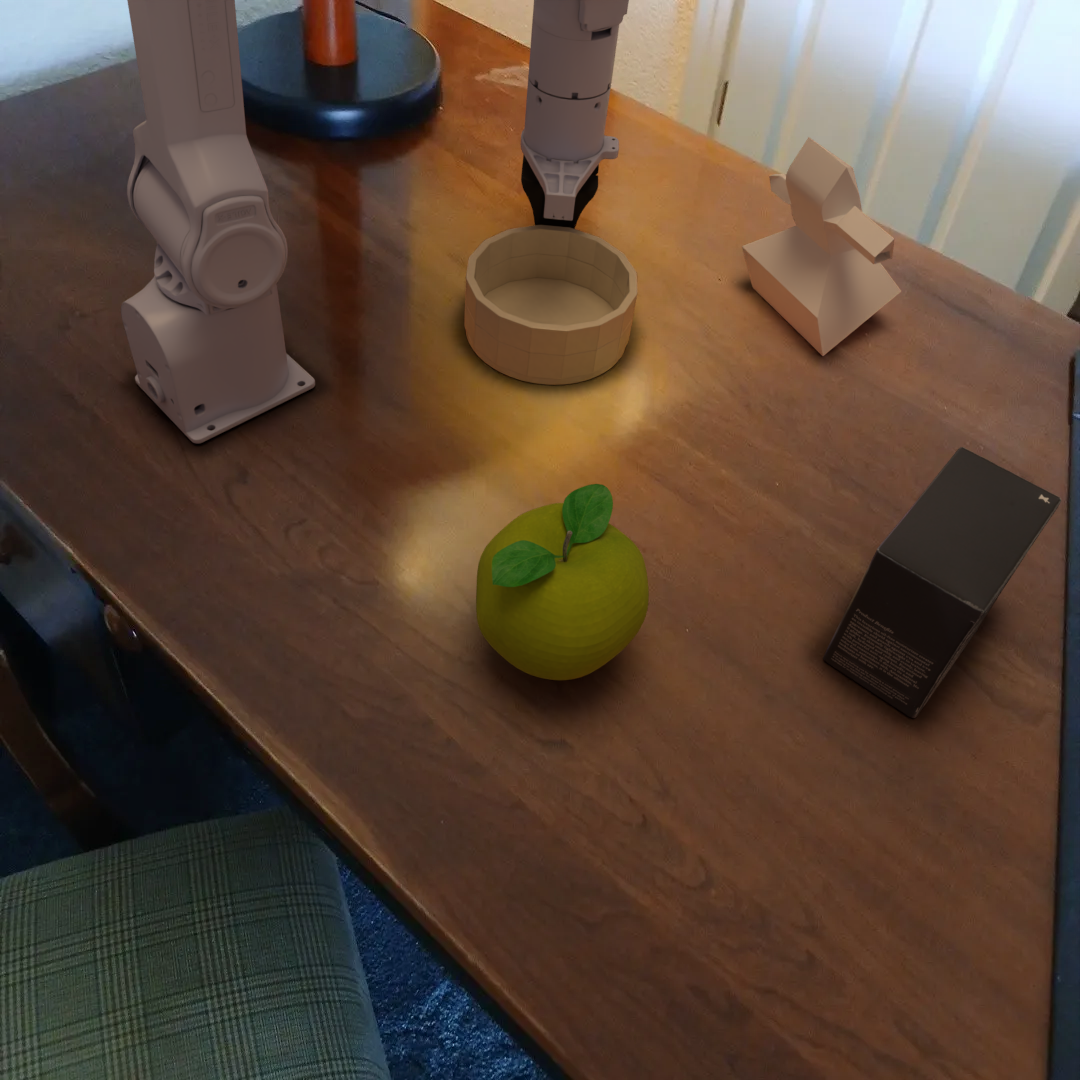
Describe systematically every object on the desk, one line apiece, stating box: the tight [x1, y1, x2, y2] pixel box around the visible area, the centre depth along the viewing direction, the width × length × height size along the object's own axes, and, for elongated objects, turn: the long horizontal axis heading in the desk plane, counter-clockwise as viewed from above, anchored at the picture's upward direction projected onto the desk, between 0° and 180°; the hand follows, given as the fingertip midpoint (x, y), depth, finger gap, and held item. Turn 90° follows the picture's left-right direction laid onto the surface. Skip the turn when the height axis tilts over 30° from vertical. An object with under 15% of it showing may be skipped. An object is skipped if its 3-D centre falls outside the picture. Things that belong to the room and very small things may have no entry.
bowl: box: [463, 224, 638, 386], centre depth 77 cm, size 12×12×5 cm
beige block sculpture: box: [741, 136, 902, 357], centre depth 78 cm, size 8×14×14 cm, turn 29°
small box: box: [822, 446, 1062, 719], centre depth 59 cm, size 11×6×10 cm, turn 141°
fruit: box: [475, 483, 650, 681], centre depth 57 cm, size 9×9×10 cm
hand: (552, 248), depth 82 cm, fingers closed
